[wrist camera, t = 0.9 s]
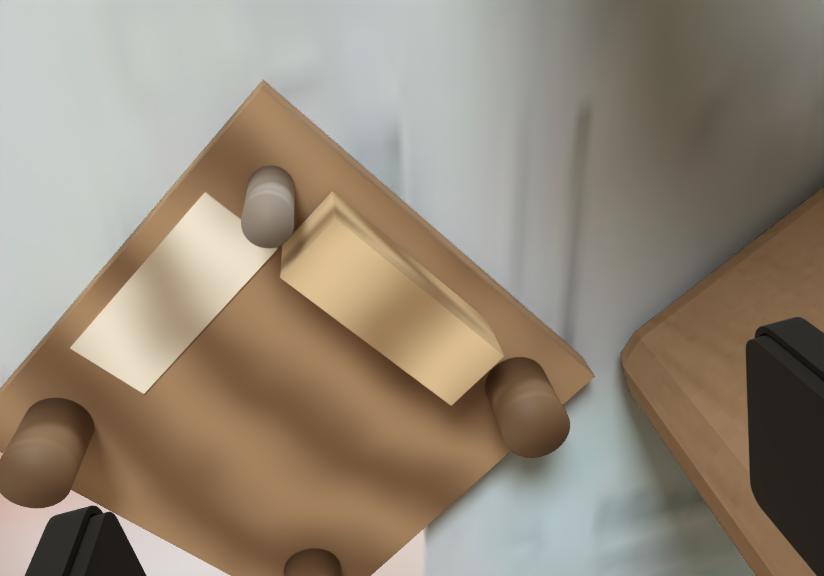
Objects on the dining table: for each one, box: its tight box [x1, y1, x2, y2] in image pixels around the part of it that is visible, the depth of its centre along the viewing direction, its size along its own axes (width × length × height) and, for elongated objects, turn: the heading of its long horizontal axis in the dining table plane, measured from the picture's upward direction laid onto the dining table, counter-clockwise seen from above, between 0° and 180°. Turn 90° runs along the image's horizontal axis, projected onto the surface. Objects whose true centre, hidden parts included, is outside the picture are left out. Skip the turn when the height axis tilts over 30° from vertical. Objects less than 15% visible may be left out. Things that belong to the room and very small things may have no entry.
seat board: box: [0, 80, 595, 576], centre depth 37 cm, size 22×22×6 cm
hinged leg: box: [280, 191, 504, 406], centre depth 34 cm, size 10×3×3 cm, turn 47°
